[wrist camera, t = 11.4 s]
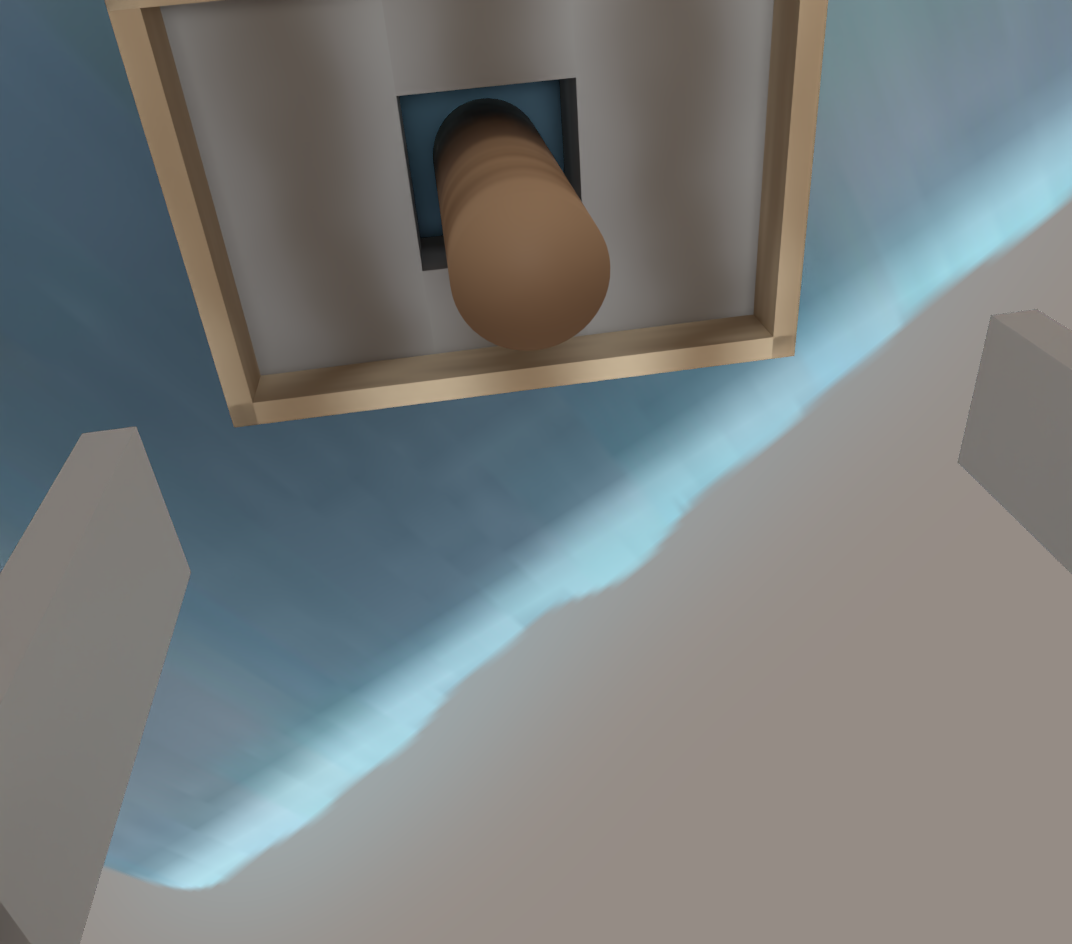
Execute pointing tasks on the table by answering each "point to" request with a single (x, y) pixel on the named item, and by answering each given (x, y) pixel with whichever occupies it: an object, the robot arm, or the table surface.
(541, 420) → the table surface
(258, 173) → the box with hole
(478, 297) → the peg
